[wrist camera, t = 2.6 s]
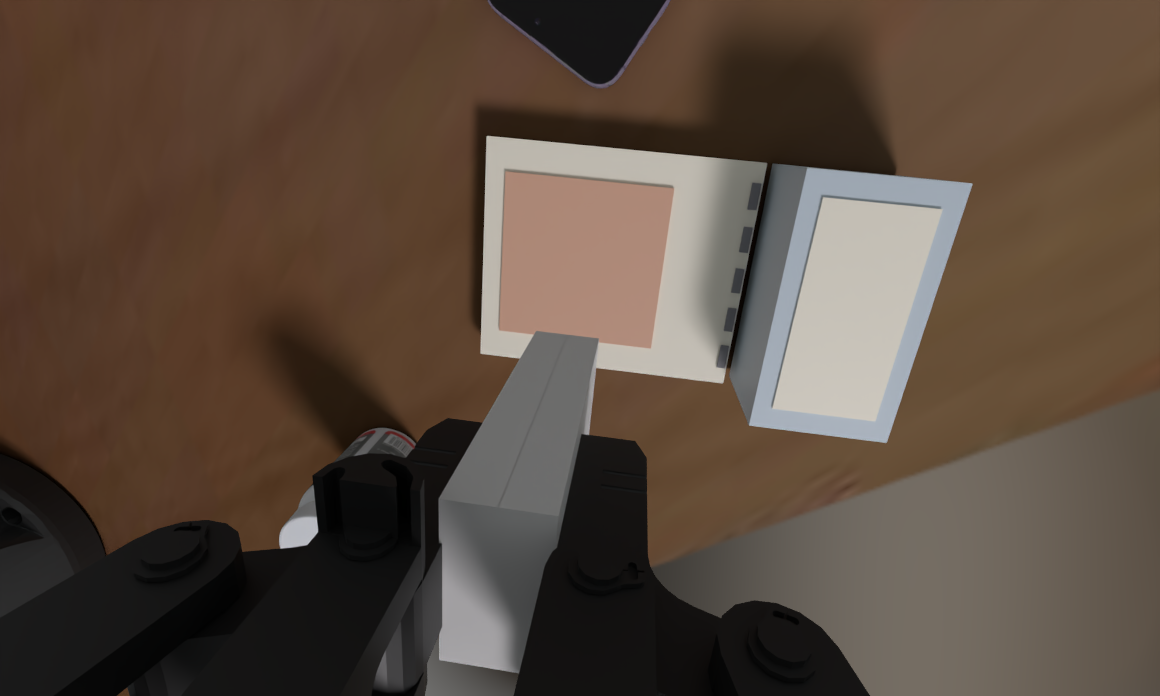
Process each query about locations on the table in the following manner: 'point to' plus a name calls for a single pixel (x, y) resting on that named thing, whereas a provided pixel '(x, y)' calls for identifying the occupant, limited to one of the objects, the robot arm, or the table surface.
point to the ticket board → (617, 252)
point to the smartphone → (585, 32)
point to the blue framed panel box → (840, 297)
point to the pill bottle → (372, 441)
